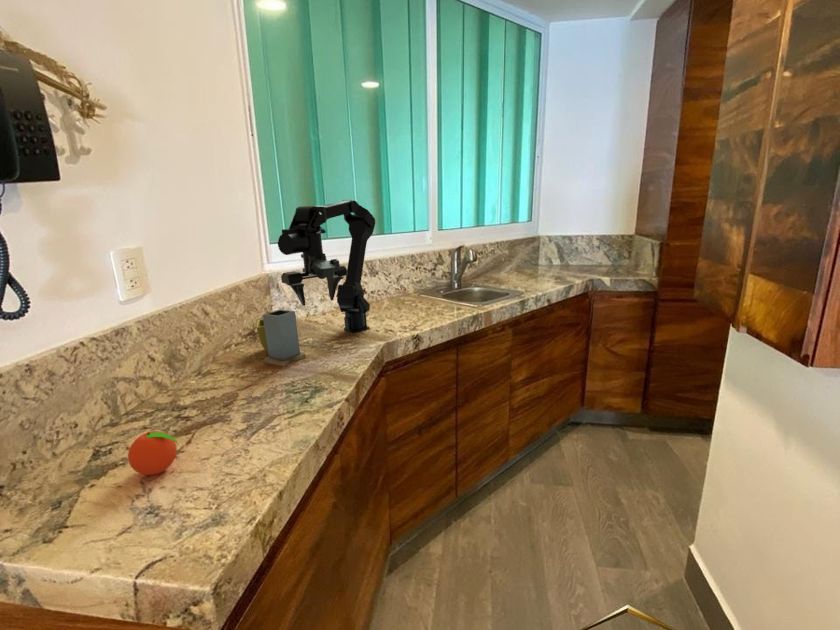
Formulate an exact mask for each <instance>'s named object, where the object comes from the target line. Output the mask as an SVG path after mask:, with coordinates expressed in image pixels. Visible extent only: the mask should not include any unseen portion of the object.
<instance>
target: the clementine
mask: <svg viewBox="0 0 840 630" xmlns="http://www.w3.org/2000/svg"><path fill="white" fill-rule="evenodd" d="M177 445H178V446H180V444H179V443H178V441H177V440H176V439H175V438H174V437H173V436H171V435H169V434H168V433H166V432H163V431H158V430H152V431H147V432H145V433H142V434H141V435H139V436H138V437H137V438H136V439H135V440H134V441H133V442H132V444H131V445H130V447H129V449H128V453H127V460H128V464H129V466H130V467H131V469H133V471H135V472H137V473H138V474H139V475H140V474H141V475H144V476H145V475H146V476H153V475H158V474H160V473H163V472H164V471H166V470H167V469H169V467H170V466H171V465H172V464H173V462H174V461H175V459H176V456H177V453H178V452H177V451H178V450H177V449H178V446H177Z"/></svg>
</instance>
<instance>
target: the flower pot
mask: <svg viewBox="0 0 840 630" xmlns="http://www.w3.org/2000/svg"><path fill="white" fill-rule="evenodd" d="M255 328H256V332H257V335H258V338H259V342H260V344H261V346H262V348H263V350H265V352H267V354H268V348H267V341H266V335H265V328H264V321H263V318H262V319H258V320H257V323H256V327H255Z"/></svg>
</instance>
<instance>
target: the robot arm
mask: <svg viewBox="0 0 840 630" xmlns="http://www.w3.org/2000/svg"><path fill="white" fill-rule="evenodd" d="M339 216H343V220H344V222H346V223H347V225H348V232H349V235H350V237H351V244H350V249H349V255H348V262H347V267H346V266H345V265H341V264H340V260H339V259H337V258H332V259H330V260H328V259H327V255H326V253H324V251H323V242H322V234H326V233H327V230H325V228H322V225H323V224H325V223H327V220H329V219H332V218H336V217H339ZM375 226H376V218H375V216H374V215H373V214H372V213H371V212H370V210H368V209H367V208H365V207H363V206H362V205H360V204H359V203H358V202H357V201H356V200H354V199H342V200H341V201H337V202H334V203H328V204H324V205H305V206H301V205H300V206H297V207H296V208H295V212H294V214H293V217H292V220H291V222H290V225H289V227H288V229H287V228H285V229H281V234H280V235H279V237H278V241H277V248H278V250H279V251H280V252H281V254H283V255H284V256H285V255H286V256H289V255H294V254H295V255H296V254H300V257H301V259H302V260H303V267H302V272H298V271H288V272H283V273H281V284H282V283H283V284H286V285H287V286H290V287H291V289H292V290H293V292H294V293H295V295H296V297H297V298H298V299H299V302H300V304H301V305H302V306H303V307H306V298H305V297H306V296H305V292H304V291H305V290H304V287H305V283H302V282H303V281H304V280H307V279H314V278H318V279H320V280H324V279H326V282H327V283H326V284H327V289H328V296H329V300H330V301H334V299H335V297H336V303H337V305H338V307H339V310H340V312H341V313H344V317H343V320H344V327H343V330H346V331H348V332H351V333H357V332H360V331H365V330H368V329H369V330H370V329H371V328H370V326H369V325H368V322H367V313H368V312H370V308H371V305H370V303H369V301H367V299H365V297H364V296H365V291H364V288H363V286H362V284H361V283H362V276H363V268H364V264H365V263H364V262H365V256H366V250H367V249H366V248H367V243H368V240H369V239H370V238H371V236H372V235H373V234H374V230H375ZM345 276H346V277H345ZM344 278H345V280H344V282H343V283H342V284H339V282H340V281H341V280H343V279H344ZM336 292H337V293H336ZM335 294H336V296H335Z"/></svg>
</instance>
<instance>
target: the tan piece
mask: <svg viewBox="0 0 840 630" xmlns="http://www.w3.org/2000/svg"><path fill="white" fill-rule="evenodd" d="M306 357H307V355H306V353H304V352H300V355H298V356H295V357H293V358H291V359H288V360H286V361H280V360H275V359H271V358H269V356H268V357H265V358H263V363H265V364H270V365H275V366H279V367H283V368H284V367H286V366H289V365H291V364H293V363H295V362H298V361H300V360H302V359H305V358H306Z"/></svg>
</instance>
